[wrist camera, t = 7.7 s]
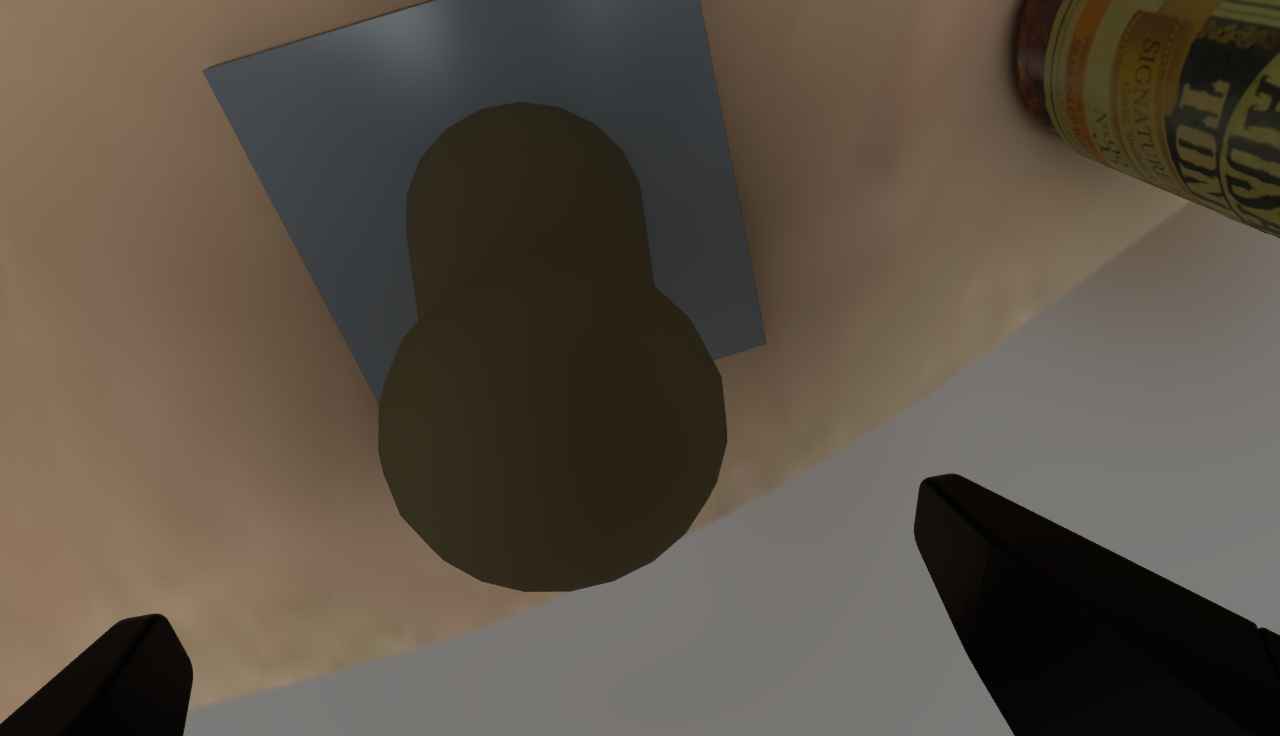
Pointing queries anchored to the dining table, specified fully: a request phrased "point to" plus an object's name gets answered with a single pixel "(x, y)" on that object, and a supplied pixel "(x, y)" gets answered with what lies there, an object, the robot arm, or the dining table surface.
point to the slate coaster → (461, 85)
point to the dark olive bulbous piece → (543, 362)
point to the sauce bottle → (1164, 94)
